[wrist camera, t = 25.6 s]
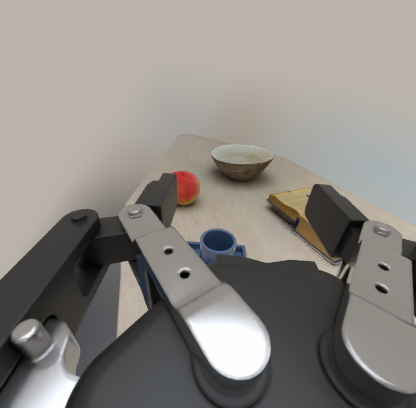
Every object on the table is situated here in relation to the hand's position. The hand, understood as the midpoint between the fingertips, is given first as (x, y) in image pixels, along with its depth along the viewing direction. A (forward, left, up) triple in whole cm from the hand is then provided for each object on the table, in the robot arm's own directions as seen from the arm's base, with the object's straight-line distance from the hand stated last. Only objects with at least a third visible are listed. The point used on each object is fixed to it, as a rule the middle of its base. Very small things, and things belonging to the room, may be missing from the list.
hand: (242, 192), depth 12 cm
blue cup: (0, +17, -28) cm, 32 cm away
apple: (-10, +43, -28) cm, 52 cm away
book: (+28, +36, -28) cm, 54 cm away
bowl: (+9, +67, -28) cm, 73 cm away
